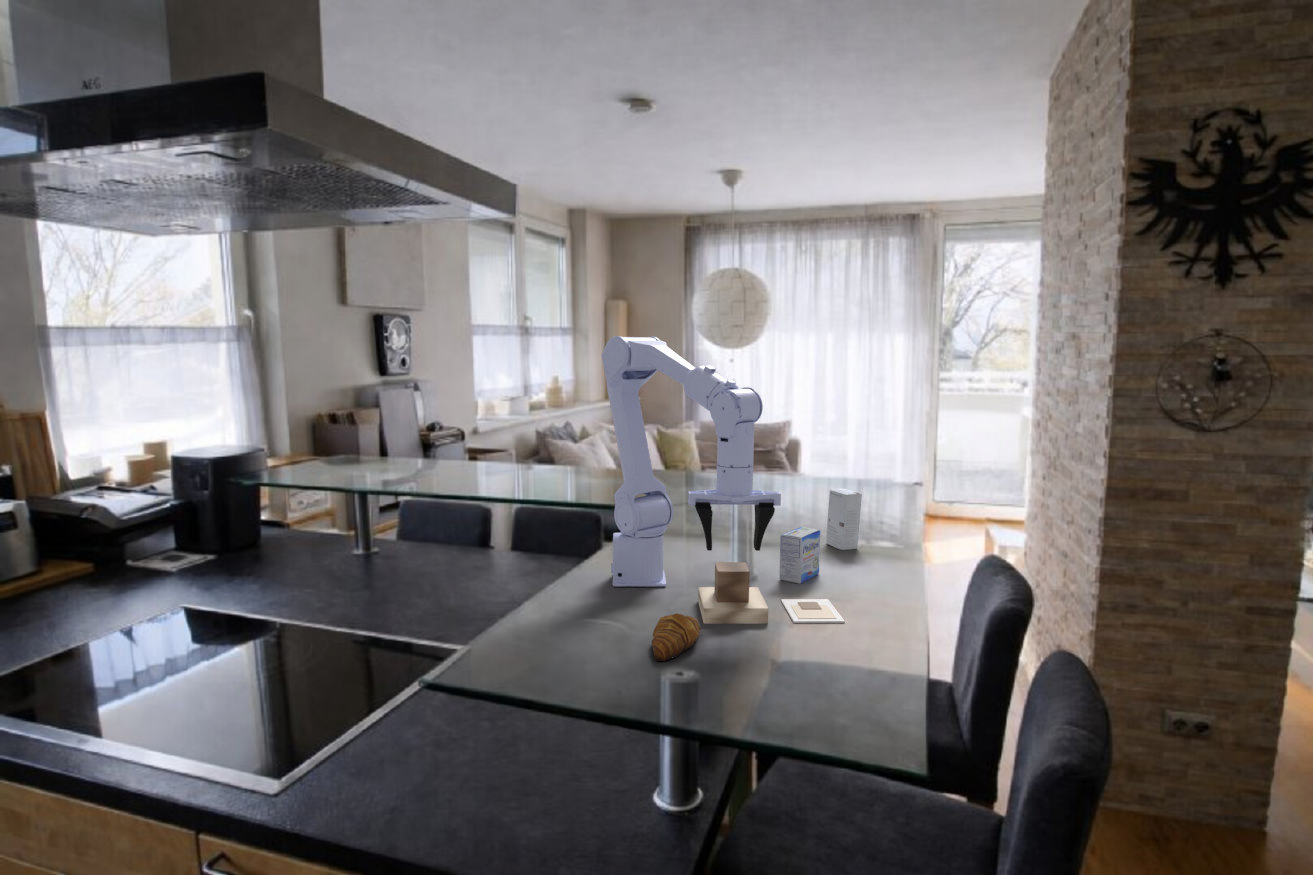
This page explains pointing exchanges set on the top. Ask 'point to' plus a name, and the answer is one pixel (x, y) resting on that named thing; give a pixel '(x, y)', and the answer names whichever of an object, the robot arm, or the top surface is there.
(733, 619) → the maple block
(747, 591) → the walnut cube
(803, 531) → the medicine box
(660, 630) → the croissant
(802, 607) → the picture card
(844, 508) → the skincare box
